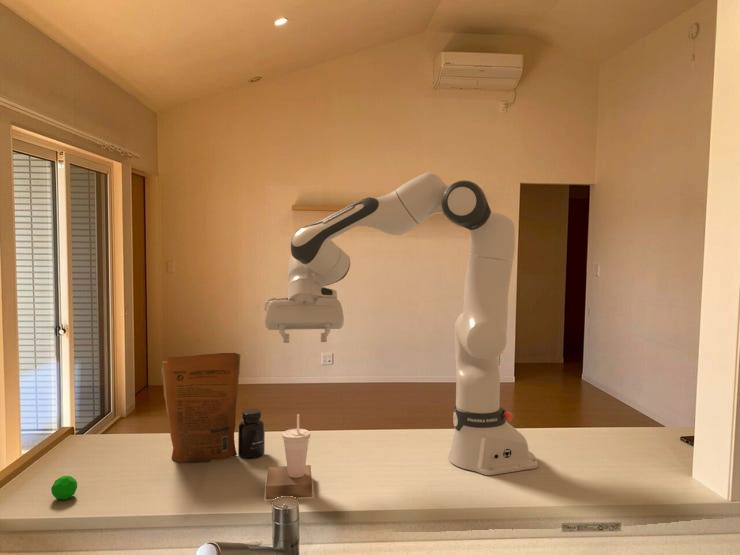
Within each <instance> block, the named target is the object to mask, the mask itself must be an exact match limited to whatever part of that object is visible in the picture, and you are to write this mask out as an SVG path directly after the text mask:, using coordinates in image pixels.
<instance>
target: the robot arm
mask: <svg viewBox="0 0 740 555" xmlns="http://www.w3.org/2000/svg"><path fill="white" fill-rule="evenodd" d="M435 215H444V216H445V217H446V219H447V220H449V222H451V224H454V225H455V226H457V227H460V228H461V227H462V228H465V229H467V230H468V231H469V233H470V247H469V252H468V254H469V255H468V258H467V259H468V260H467V265H466V272H465V280H464V285H463V287H464V288H463V290H464V292H463V293H464V294H463V308H462V309H463V310H462V312H461V313H460V314H459V315H458V317H457V319H456V321H455V324H454V352H455V353H454V354H455V356H454V357H455V374H456V376H455V378H456V379H455V380H456V382H455V384H456V386H455V387H456V388H455V404H454V406H453V407H454V408H453V416H452V417H453V418H452V419H453V420H452V421H453V427H454V430H453V437H452V443H451V447H450V451H449V454H448V461H449V462H450V463H452V464H453V466H456V467H458V468H461V469H464V470H469V471H472V472H477V473H479V474H482V475H485V476H493V475H498V474H499V475H501V474H505V473H506V474H507V473H512V472H514V473H515V472H519V471H527V470H533V469H537V468H538V466H539V465H538V464H539V462H538V459H537V456H535V455H534V453H532V452H531V451H530V449H529V446H528V441H527V439H526V438H525V435H523V434H522V433H521V432H520V431H519V430H517V429H516V428H515V427H514V426H513V425H511V424H510V423H509V422H508V421H512V420H513V419H514V414H513V413H512V412H510V411H509V410H506V409H505V408H503V407H502V406H500V399H501V398H500V397H501V392H500V391H501V375H500V369H499V360H498V359H499V358H498V357H499V356H500V355H501V354H502V353H503V352H504V351H505V349H506V346H507V332H508V330H507V329H508V317H509V316H508V315H509V314H508V312H509V290H510V284H511V276H512V272H513V265H514V257H515V246H516V233H515V232H516V228H515V223H514V221H513V220H512V219H511V218H510V217H508V215H507V216H506V215H504V214H501V213H495V212H493V211H492V210H491V208H490V205H489V202H488V197H487V194H486V193H485V191H484V190H483V189H482V188H481V187H480V186H479V184H477V183H475V182H473V181H471V180H458V181H456V182H453V183H452V184H450V185H447V184H446V183H445V182H444V181H443V179H442V178H441V177H440V176H438V175H437V174H435V173H433V172H425V173H422V174H420V175H417V176H416V177H414V178H412V179H410V180H408V181H406V182H404V183H403V184H401V185H400V186H399V187H397V188H396V189H394V190H393V191H391V192H390V193H388V194H387V193H386V194H385V195H381V196H379V197H371V196H370V197H368V196H367V197H365V198H362V199H360V200H357V201H355V202H353V203H351V204H349V205H348V206H344V208H342V209H340V210H338V211H336V212H334V213H332V214H330V215H328V216H327V217H325V218H323V219H321V220H319V221H317V222H314V223H311V224H308V225H305V226H303V227H301V228H299V229H298V230H297V231H296V232H294V233H293V235H292V237H291V241H290V253H291V254H290V258H289V261H288V267H287V278H288V287H287V297H278V298H275V297H271V298H270V299H268V300H266V301H265V302H264V311H265V318H264V319H265V321H264V323H265V328H266V329H267V330H269V331H278V332H279V335H280V336H281V337H282V338H283V340H282V341H283V343H284V344H285V343H286V344H288V343H289V344H290V334H289V333H286V332H285V330H286V331H293V330H294V331H295V330H298V331H299V330H300V331H301V330H324V332H321V333H320V343H327V341H328V335H329V334H330V333H331V330H340V329H342V328H343V326H344V324H345V322H344V321H345V320H344V319H345V318H344V317H345V316H344V310H343V306H342V302H341V301H340V300H339V299H338V291H337V290H335V289H333V288H332V289H331V288H330V287H329V288H327V286H330V285H333V284H335V283H338V282H340V281H342V280H343V279H344V278H346V276H347V275H348V273H349V271H350V268H351V267H350V266H351V259H350V256H349V255H348V254H347V253H346V252H345V251H344V250H343V249H342V248H341V247H340V246H338V244H336V243H335V241H333V239H334V238H336V237H338V236H340V235H342V234H344V233H346V232H348V231H351V230H352V229H354V228H356V227H368V228H373V229H376V230H378V231H381V232H382V233H385V234H387V235H392V236H402V235H404V234H407V233H408V232H410V231H413V230H414V229H415V228H416V227H418V226H419V225H421V224H422V223H424V222H425V221H426V220H428V219H430V218H431V217H433V216H435Z"/></svg>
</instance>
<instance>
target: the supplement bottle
mask: <svg viewBox="0 0 740 555" xmlns="http://www.w3.org/2000/svg"><path fill="white" fill-rule="evenodd" d="M241 415H242V416H241V419H242V420H240V422H239V423H238V427H237V428H238V429H237V431H238V432H237V433H238V434H237V436H238V437H237V438H238V439H237V440H238V441H237V446H238V447H237V448H238V449H237V451H238V452H237V455H238V457H239V458H240V459H243V460H256V459H258V458H262V457H263V456H264V455H265V447H266V446H265V444H266V443H265V442H266V441H265V438H266V437H265V436H266V435H265V434H266V433H265V432H266V430H265V429H266V428H265V426H266V425H265V422H264V421H263V420H262V411H261V410H260V409H259V408H247V409H244V410H242V412H241Z"/></svg>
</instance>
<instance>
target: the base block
mask: <svg viewBox="0 0 740 555" xmlns="http://www.w3.org/2000/svg"><path fill="white" fill-rule="evenodd" d="M266 472H267V473H266V474H267V476H266V479H267V481H266V480H265V484H266V499H275V498H277V497H281V496H293V497H296V498H301V497H312V477H311V476H312V465H310V464H306V466H305V474H304V476H302V477H299V478H292V477H289V476H288V470H287V465H285V466H284V465H283V466H268V467H267V471H266Z"/></svg>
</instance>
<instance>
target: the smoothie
mask: <svg viewBox="0 0 740 555" xmlns="http://www.w3.org/2000/svg"><path fill="white" fill-rule="evenodd" d="M281 436H282V437H281V439H282V440H283V444H284V451H285V452H284V454H285V461H286V466H287V470H288V476H289V477H292V478H299V477H302V476H304V474H305V466H306V465H307V457H308V448H309V439H310V438H311V432H310V431H309V430H307V429H305V428H300V414H296V428H289V429H287V430H285V431H283V432H282V435H281Z"/></svg>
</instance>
